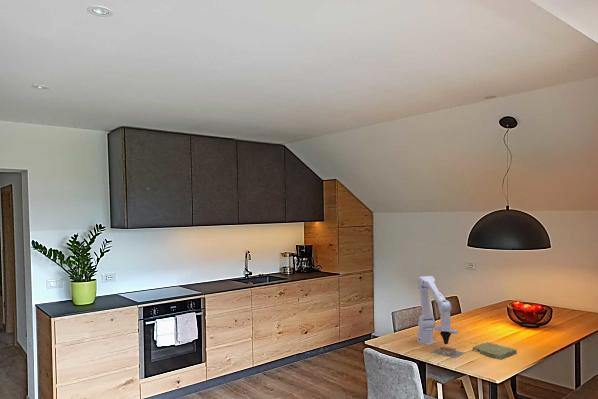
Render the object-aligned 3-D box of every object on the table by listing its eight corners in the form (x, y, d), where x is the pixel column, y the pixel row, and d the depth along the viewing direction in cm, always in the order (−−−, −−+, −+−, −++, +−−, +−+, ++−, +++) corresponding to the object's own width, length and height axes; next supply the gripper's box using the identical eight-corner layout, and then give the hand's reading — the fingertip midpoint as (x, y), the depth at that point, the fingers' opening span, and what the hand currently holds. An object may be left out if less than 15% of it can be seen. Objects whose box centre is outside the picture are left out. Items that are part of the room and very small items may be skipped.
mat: (430, 353, 277) (430, 352, 277) (440, 348, 286) (440, 347, 286) (455, 358, 265) (455, 358, 265) (465, 353, 274) (465, 352, 274)
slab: (438, 348, 275) (450, 351, 269) (443, 346, 280) (455, 348, 274) (438, 352, 275) (450, 355, 269) (443, 350, 280) (455, 352, 274)
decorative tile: (486, 346, 288) (486, 340, 288) (517, 354, 272) (517, 348, 272) (469, 352, 277) (469, 346, 277) (500, 361, 261) (500, 354, 261)
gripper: (431, 320, 278) (432, 343, 277) (453, 324, 267) (454, 347, 267) (437, 318, 283) (437, 340, 282) (459, 322, 272) (459, 345, 272)
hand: (446, 343), depth 275 cm, fingers closed
